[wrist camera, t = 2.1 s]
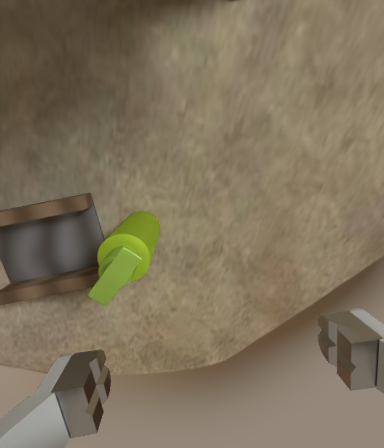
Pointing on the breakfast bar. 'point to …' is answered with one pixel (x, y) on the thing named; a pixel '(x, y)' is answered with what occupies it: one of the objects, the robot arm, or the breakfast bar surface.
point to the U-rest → (50, 248)
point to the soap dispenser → (125, 255)
